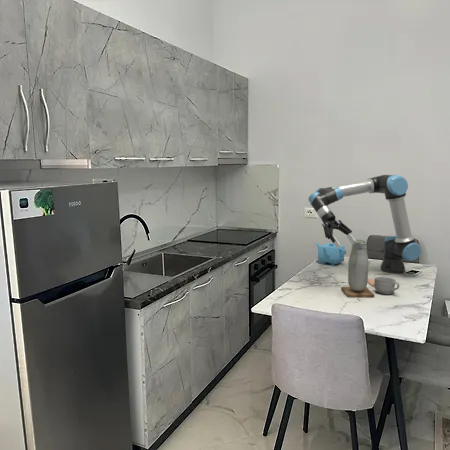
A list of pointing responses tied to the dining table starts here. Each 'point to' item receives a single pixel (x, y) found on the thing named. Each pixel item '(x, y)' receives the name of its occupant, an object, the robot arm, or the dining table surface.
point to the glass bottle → (358, 266)
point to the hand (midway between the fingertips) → (346, 245)
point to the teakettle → (330, 253)
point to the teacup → (385, 285)
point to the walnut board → (357, 292)
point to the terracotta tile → (371, 282)
